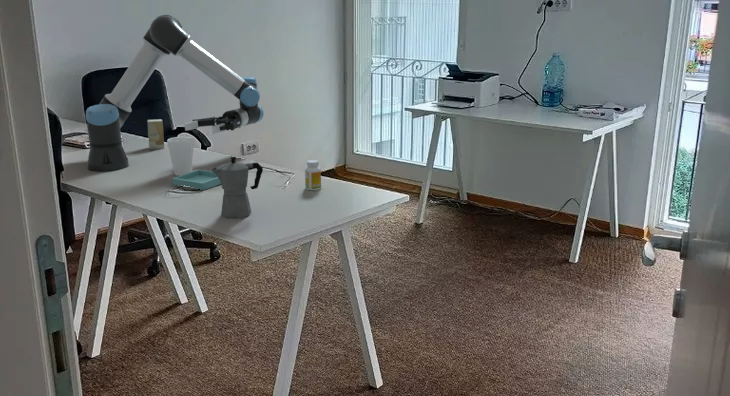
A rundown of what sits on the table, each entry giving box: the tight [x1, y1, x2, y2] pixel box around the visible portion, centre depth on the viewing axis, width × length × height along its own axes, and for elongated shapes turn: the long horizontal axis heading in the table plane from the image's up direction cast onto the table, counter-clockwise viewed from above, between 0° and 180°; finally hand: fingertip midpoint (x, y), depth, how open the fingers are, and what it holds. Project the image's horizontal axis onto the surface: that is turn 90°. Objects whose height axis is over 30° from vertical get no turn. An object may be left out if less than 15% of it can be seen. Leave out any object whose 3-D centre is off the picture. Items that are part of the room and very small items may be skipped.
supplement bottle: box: [304, 159, 322, 191], centre depth 235 cm, size 5×5×10 cm
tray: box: [171, 169, 221, 191], centre depth 243 cm, size 14×14×2 cm
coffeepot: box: [211, 156, 264, 220], centre depth 207 cm, size 15×9×18 cm, turn 111°
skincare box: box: [147, 118, 165, 150], centre depth 295 cm, size 6×4×12 cm
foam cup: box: [166, 136, 195, 176], centre depth 254 cm, size 10×9×13 cm
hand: (199, 128), depth 260 cm, fingers open, 13 cm apart
